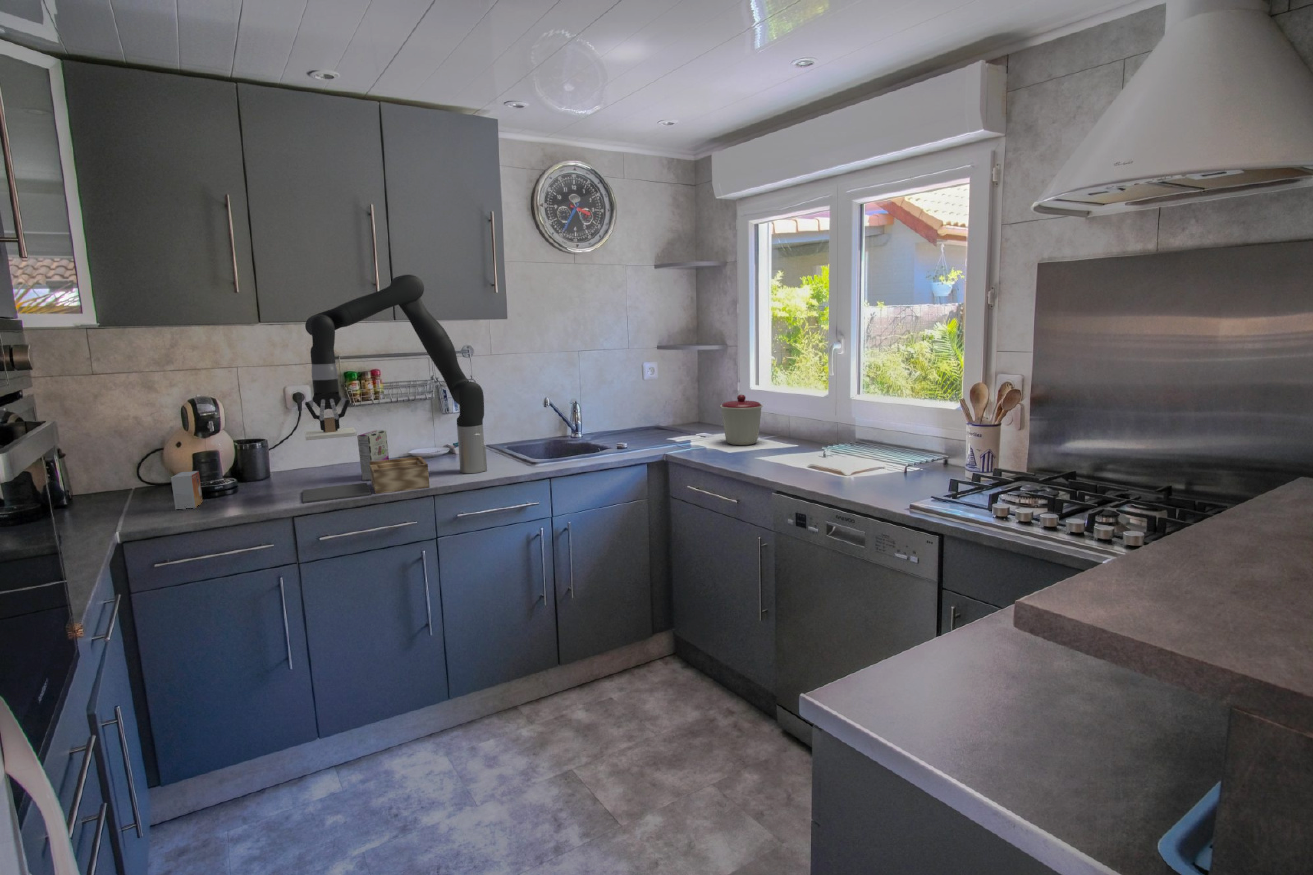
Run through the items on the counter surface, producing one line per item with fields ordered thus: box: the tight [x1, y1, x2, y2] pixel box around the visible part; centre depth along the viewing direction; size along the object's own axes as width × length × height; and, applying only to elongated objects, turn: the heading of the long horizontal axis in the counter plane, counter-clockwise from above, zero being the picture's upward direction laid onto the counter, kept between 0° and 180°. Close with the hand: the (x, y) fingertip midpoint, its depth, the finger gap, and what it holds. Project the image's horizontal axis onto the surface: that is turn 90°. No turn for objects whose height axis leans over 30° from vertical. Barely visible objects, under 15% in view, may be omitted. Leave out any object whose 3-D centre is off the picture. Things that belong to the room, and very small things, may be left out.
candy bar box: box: [356, 429, 390, 481], centre depth 263 cm, size 11×5×16 cm, turn 168°
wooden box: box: [370, 456, 431, 495], centre depth 248 cm, size 17×16×8 cm
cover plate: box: [304, 416, 358, 441], centre depth 237 cm, size 15×13×6 cm
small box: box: [170, 470, 204, 510], centre depth 227 cm, size 8×6×10 cm
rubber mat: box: [302, 482, 372, 504], centre depth 240 cm, size 20×18×1 cm
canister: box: [719, 394, 764, 446], centre depth 311 cm, size 18×18×21 cm
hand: (330, 430), depth 237 cm, fingers closed on cover plate, 3 cm apart
